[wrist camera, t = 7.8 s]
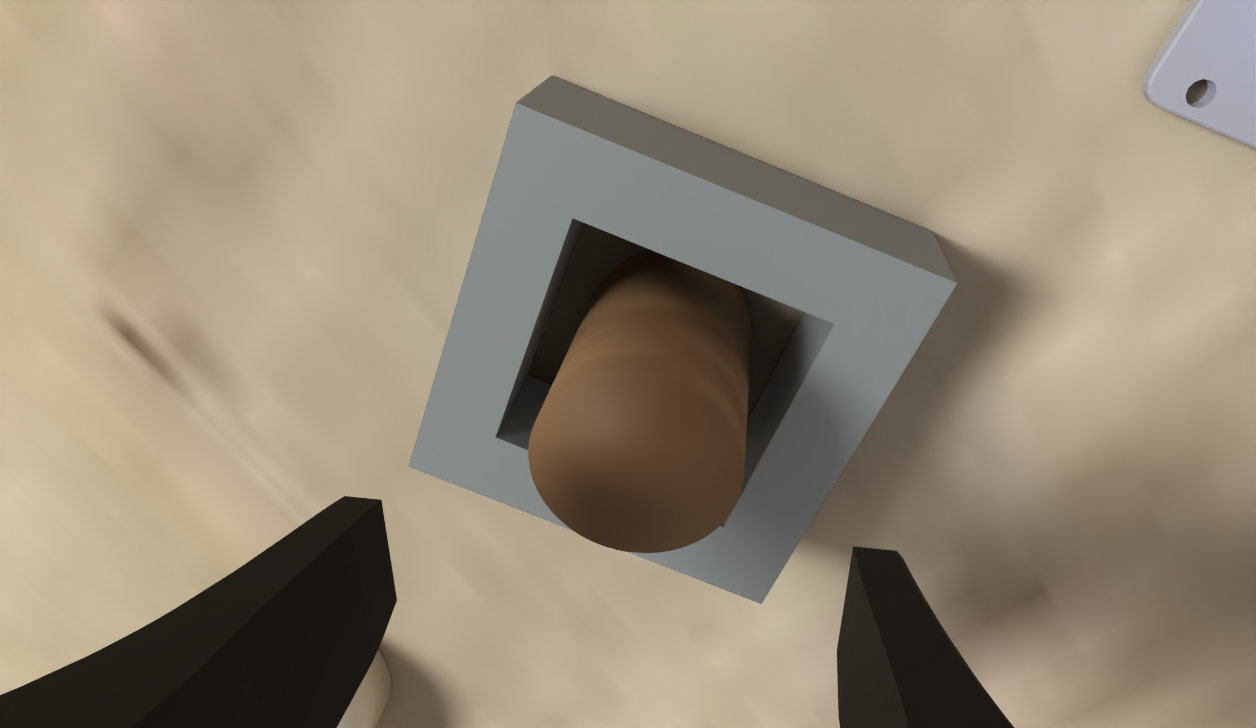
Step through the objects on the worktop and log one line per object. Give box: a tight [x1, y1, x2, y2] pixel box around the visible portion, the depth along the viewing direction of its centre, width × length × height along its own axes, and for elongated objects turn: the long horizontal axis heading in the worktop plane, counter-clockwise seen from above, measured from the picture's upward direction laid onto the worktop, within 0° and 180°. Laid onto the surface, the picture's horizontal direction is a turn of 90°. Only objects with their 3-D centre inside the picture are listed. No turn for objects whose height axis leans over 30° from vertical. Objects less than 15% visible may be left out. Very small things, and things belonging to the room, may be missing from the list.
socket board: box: [409, 76, 957, 604], centre depth 20 cm, size 9×9×3 cm
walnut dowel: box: [528, 251, 752, 553], centre depth 19 cm, size 4×4×6 cm
